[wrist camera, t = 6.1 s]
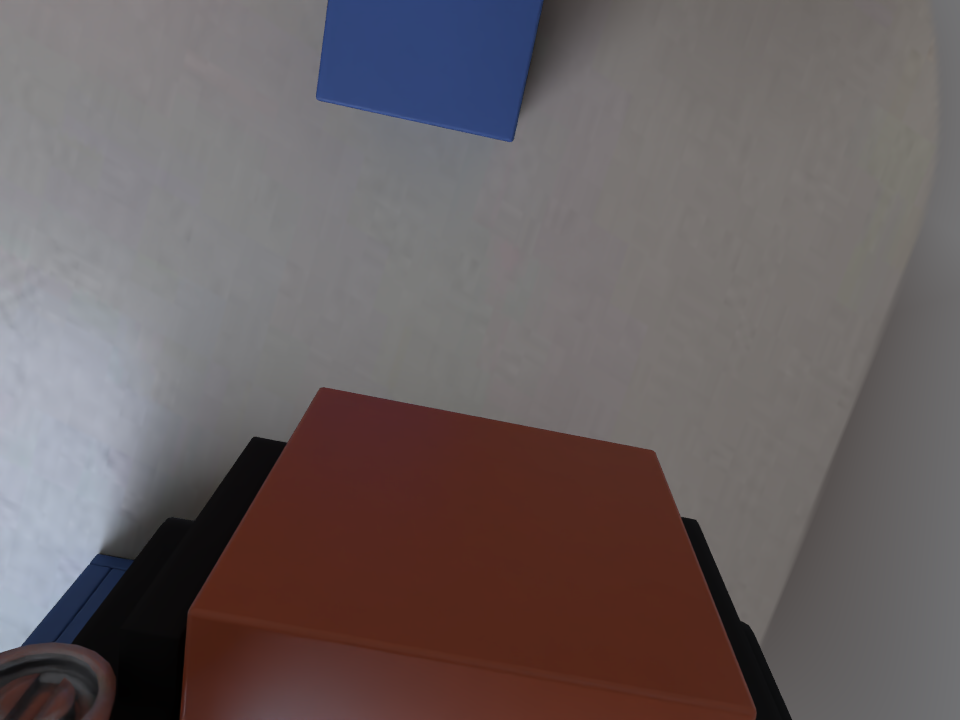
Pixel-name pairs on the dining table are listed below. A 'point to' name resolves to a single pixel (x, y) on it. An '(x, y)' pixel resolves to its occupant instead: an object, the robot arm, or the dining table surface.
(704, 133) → the dining table surface
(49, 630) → the blue bin
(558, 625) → the terracotta block
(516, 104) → the blue block
